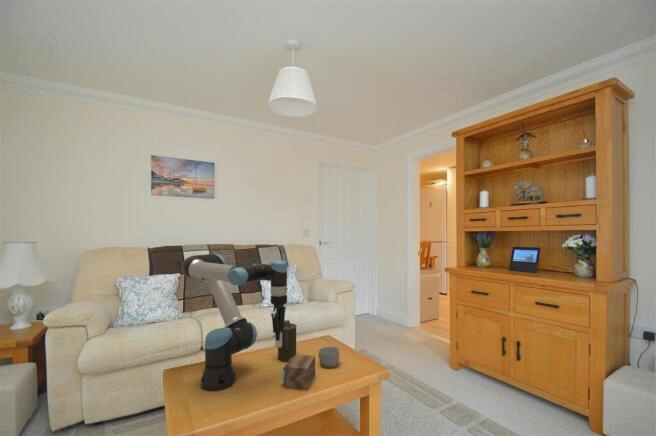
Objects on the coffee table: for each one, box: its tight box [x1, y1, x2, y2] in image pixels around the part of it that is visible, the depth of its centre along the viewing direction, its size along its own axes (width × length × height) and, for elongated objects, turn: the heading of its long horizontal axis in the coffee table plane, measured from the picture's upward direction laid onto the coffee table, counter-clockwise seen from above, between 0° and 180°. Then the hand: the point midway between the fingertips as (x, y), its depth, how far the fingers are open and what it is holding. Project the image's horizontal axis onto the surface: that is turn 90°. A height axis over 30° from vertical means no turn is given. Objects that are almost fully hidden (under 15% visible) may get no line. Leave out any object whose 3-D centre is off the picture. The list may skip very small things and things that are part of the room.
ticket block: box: [285, 354, 316, 391], centre depth 147 cm, size 10×14×9 cm
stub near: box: [280, 363, 288, 386], centre depth 144 cm, size 7×5×1 cm
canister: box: [277, 319, 297, 363], centre depth 173 cm, size 11×10×20 cm
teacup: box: [318, 344, 340, 368], centre depth 166 cm, size 14×11×8 cm
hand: (278, 346), depth 145 cm, fingers closed
